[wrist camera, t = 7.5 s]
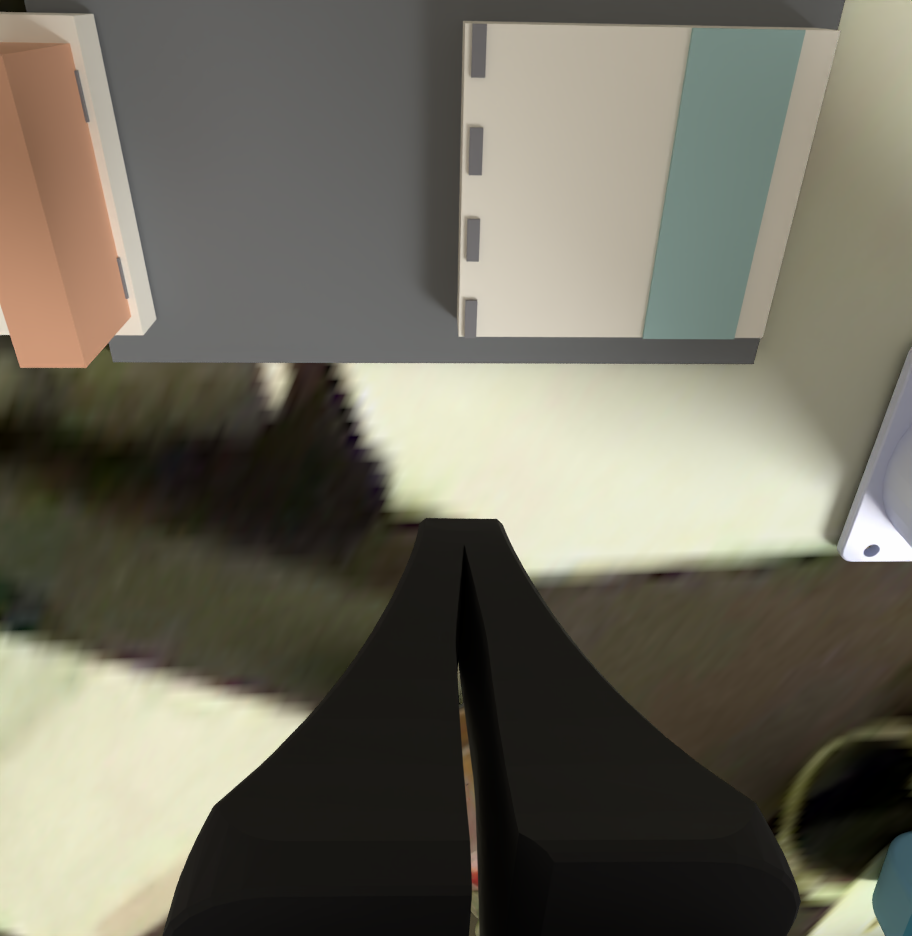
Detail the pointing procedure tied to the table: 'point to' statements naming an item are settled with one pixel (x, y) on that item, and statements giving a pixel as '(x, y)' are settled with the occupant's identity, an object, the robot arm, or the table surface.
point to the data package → (895, 889)
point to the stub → (63, 198)
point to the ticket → (631, 175)
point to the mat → (332, 173)
